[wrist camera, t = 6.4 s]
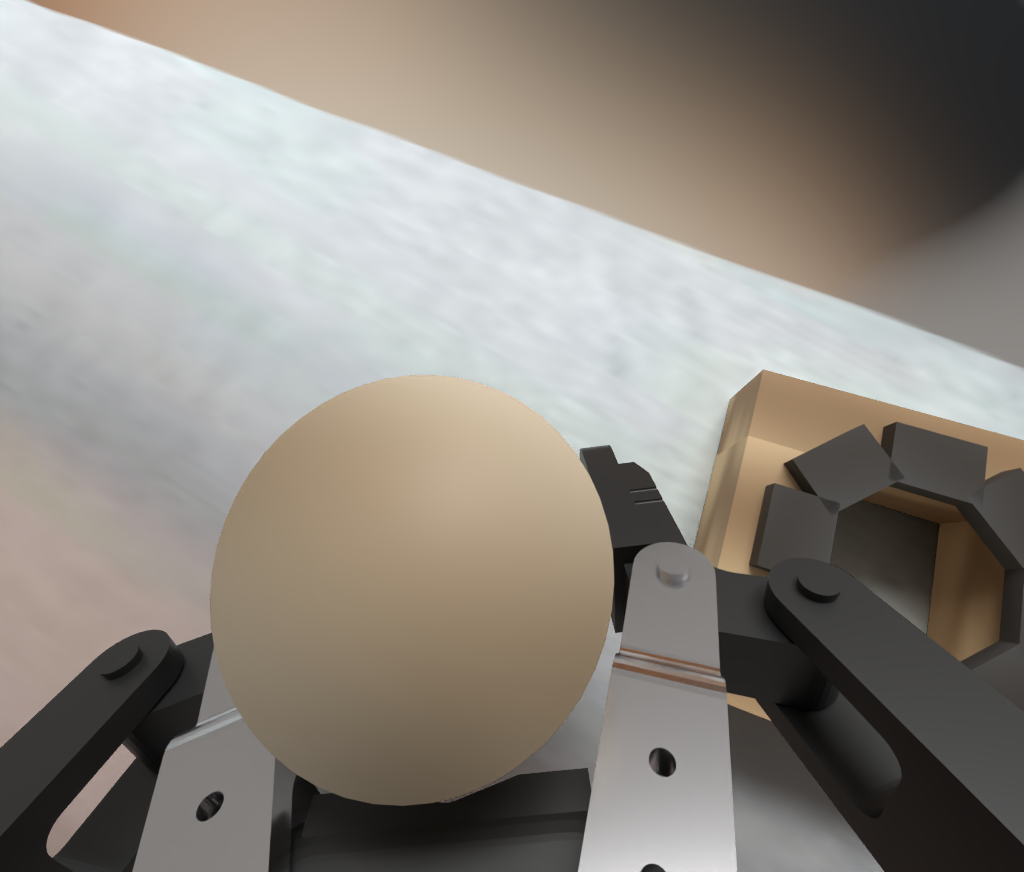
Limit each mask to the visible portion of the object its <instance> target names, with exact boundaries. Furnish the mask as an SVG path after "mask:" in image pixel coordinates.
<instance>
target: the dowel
mask: <svg viewBox="0 0 1024 872" xmlns="http://www.w3.org/2000/svg"><path fill="white" fill-rule="evenodd" d="M613 590H614V564H613V550H612V544H611V538H610V532H609V526H608V523H607V519H606V516H605V513H604V510H603V506H602V503H601V500H600V497H599V495H598V493H597V491H596V489H595V486H594V484H593V482H592V480H591V478H590V475H589V474H588V472H587V470H586V469H585V467H584V466H583V464H582V462H581V461H580V459H579V458H578V456H577V454H576V453H575V452H574V450H573V449H572V448H571V447H570V445H569V444H568V443H567V442H566V441H565V439H564V438H563V437H562V436H561V434H560V433H559V432H558V431H556V430H555V429H554V428H553V427H552V426H551V425H550V424H549V423H548V422H547V421H546V420H545V419H544V418H543V417H541V416H540V415H539V414H537V413H536V412H535V411H533V410H532V409H530V408H529V407H528V406H526V405H525V404H523V403H522V402H520V401H518V400H516V399H514V398H513V397H511V396H509V395H507V394H505V393H503V392H501V391H499V390H496V389H494V388H491V387H488V386H486V385H483V384H480V383H477V382H473V381H469V380H464V379H460V378H455V377H446V376H437V375H410V376H403V377H396V378H388V379H384V380H380V381H376V382H372V383H369V384H365V385H362V386H360V387H357V388H354V389H352V390H349V391H347V392H344V393H342V394H340V395H338V396H336V397H334V398H332V399H330V400H329V401H327V402H325V403H323V404H321V405H320V406H318V407H317V408H315V409H314V410H312V411H311V412H309V413H308V414H306V415H305V416H303V417H302V418H301V419H299V420H298V421H297V422H296V423H295V424H294V425H292V426H291V427H290V428H289V429H288V430H287V431H285V432H284V433H283V434H282V435H281V436H280V437H279V438H278V439H277V440H276V441H275V442H274V444H273V445H272V446H271V447H270V448H269V449H268V450H267V451H266V452H265V453H264V455H263V456H262V457H261V459H260V460H259V461H258V463H257V464H256V465H255V467H254V468H253V469H252V471H251V472H250V473H249V475H248V477H247V478H246V480H245V482H244V484H243V485H242V487H241V489H240V490H239V492H238V494H237V496H236V498H235V500H234V502H233V504H232V507H231V509H230V511H229V513H228V516H227V518H226V520H225V523H224V526H223V529H222V532H221V536H220V539H219V542H218V545H217V549H216V555H215V560H214V565H213V570H212V579H211V592H210V614H211V630H212V636H213V642H214V648H215V654H216V658H217V661H218V664H219V667H220V671H221V674H222V677H223V680H224V683H225V685H226V688H227V690H228V692H229V694H230V696H231V698H232V700H233V703H234V705H235V707H236V709H237V710H238V712H239V713H240V715H241V717H242V718H243V720H244V721H245V723H246V724H247V726H248V727H249V729H250V730H251V732H252V733H253V734H254V735H255V736H256V738H257V739H258V740H259V741H260V742H261V743H262V744H263V746H264V747H265V748H266V749H267V750H268V751H269V752H270V753H271V754H272V755H273V756H274V757H275V758H277V759H278V760H279V761H280V762H281V763H283V764H284V765H285V766H286V767H287V768H288V769H290V770H291V771H292V772H294V773H295V774H297V775H299V776H300V777H302V778H304V779H305V780H307V781H309V782H310V783H312V784H314V785H315V786H317V787H319V788H322V789H324V790H327V791H329V792H332V793H334V794H337V795H339V796H342V797H344V798H348V799H353V800H357V801H362V802H366V803H371V804H381V805H397V806H406V805H417V804H427V803H435V802H438V801H442V800H446V799H450V798H454V797H458V796H462V795H464V794H467V793H469V792H471V791H474V790H476V789H478V788H481V787H483V786H485V785H488V784H490V783H492V782H494V781H495V780H497V779H499V778H500V777H502V776H503V775H505V774H507V773H508V772H510V771H511V770H513V769H515V768H516V767H518V766H519V765H520V764H522V763H523V762H524V761H525V760H526V759H528V758H529V757H530V756H531V755H532V754H534V753H535V752H536V751H537V750H538V749H540V748H541V747H542V746H543V745H544V744H545V743H546V742H547V740H548V739H549V738H550V737H551V736H552V735H553V734H554V733H555V732H556V731H557V729H558V728H559V727H560V726H561V725H562V724H563V723H564V721H565V720H566V718H567V717H568V715H569V714H570V713H571V711H572V710H573V708H574V707H575V705H576V704H577V702H578V701H579V699H580V698H581V696H582V694H583V692H584V690H585V688H586V686H587V685H588V683H589V681H590V679H591V677H592V675H593V673H594V671H595V669H596V666H597V663H598V660H599V657H600V654H601V652H602V649H603V646H604V643H605V640H606V635H607V631H608V626H609V621H610V617H611V612H612V602H613Z"/></svg>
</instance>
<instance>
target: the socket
mask: <svg viewBox="0 0 1024 872" xmlns="http://www.w3.org/2000/svg"><path fill="white" fill-rule="evenodd" d="M860 500H863V501H867V502H870V503H873V504H876V505H880V506H883V507H886V508H889V509H893V510H896V511H899V512H902V513H906V514H909V515H912V516H915V517H919V518H922V519H925V520H929V521H932V522H935V523H938V524H940V527H939V535H938V544H937V552H936V561H935V570H934V578H933V587H932V595H931V604H930V612H929V621H928V629H927V636H928V637H930V638H931V639H932V640H934V641H935V642H936V643H937V644H939V645H940V646H941V647H942V648H944V649H945V650H946V651H947V652H949V653H950V654H951V655H952V656H954V657H955V658H956V659H958V660H959V661H960V662H961V663H963V664H964V665H965V666H966V667H968V668H969V669H970V670H971V671H973V672H974V673H975V674H976V675H978V676H979V677H980V678H982V679H983V680H984V681H985V682H987V683H988V684H989V685H990V686H992V687H993V688H994V689H995V690H997V691H998V692H999V693H1000V694H1002V695H1003V696H1004V697H1005V698H1007V699H1008V700H1009V701H1011V702H1012V703H1013V704H1014V705H1016V706H1017V707H1018V708H1019V709H1021V710H1022V711H1023V712H1024V440H1020V439H1017V438H1013V437H1009V436H1006V435H1002V434H998V433H995V432H991V431H987V430H984V429H980V428H976V427H973V426H969V425H965V424H962V423H958V422H954V421H950V420H947V419H943V418H939V417H936V416H932V415H928V414H925V413H921V412H917V411H914V410H910V409H906V408H903V407H899V406H895V405H892V404H888V403H884V402H881V401H877V400H873V399H870V398H866V397H862V396H859V395H855V394H851V393H848V392H844V391H840V390H837V389H833V388H829V387H826V386H822V385H818V384H815V383H811V382H807V381H804V380H800V379H796V378H793V377H789V376H785V375H782V374H778V373H774V372H770V371H767V370H762V371H761V372H760V373H759V374H758V375H757V376H756V377H755V378H753V379H752V380H751V381H750V382H749V383H748V384H747V385H746V386H744V387H743V388H742V389H741V390H740V391H739V392H738V393H737V394H735V395H734V396H733V397H732V398H731V399H730V403H729V407H728V411H727V415H726V419H725V423H724V427H723V431H722V436H721V440H720V444H719V448H718V452H717V456H716V460H715V464H714V468H713V472H712V476H711V480H710V484H709V488H708V492H707V496H706V500H705V504H704V508H703V512H702V517H701V521H700V525H699V529H698V533H697V537H696V541H695V545H694V549H696V550H698V551H699V552H701V553H702V554H703V555H705V556H706V557H707V558H708V559H709V561H710V562H711V563H712V565H713V567H716V568H719V569H721V570H725V571H729V572H734V573H741V574H748V575H756V576H763V577H768V576H769V572H770V570H771V569H772V567H773V566H774V565H775V564H777V563H778V562H780V561H783V560H786V559H790V558H809V559H815V560H819V561H823V562H826V563H829V564H830V559H831V553H832V548H833V542H834V536H835V530H836V524H837V519H838V513H839V511H841V510H843V509H845V508H847V507H848V506H850V505H852V504H854V503H856V502H858V501H860ZM727 704H729V705H731V706H734V707H736V708H739V709H741V710H744V711H747V712H749V713H752V714H754V715H757V716H759V717H762V718H764V719H767V720H769V721H771V720H770V718H769V717H768V716H767V714H766V713H765V712H764V710H763V709H762V708H761V706H760V705H759V704H758V702H757V701H756V699H754V698H750V697H745V696H741V695H736V694H731V693H727Z"/></svg>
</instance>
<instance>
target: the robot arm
mask: <svg viewBox="0 0 1024 872" xmlns="http://www.w3.org/2000/svg"><path fill="white" fill-rule="evenodd" d="M580 461H581V462H582V464H583V466H584V467H585V469H586V470H587V472H588V474H589V475H590V478H591V480H592V482H593V484H594V486H595V489H596V491H597V493H598V495H599V497H600V500H601V503H602V506H603V510H604V513H605V516H606V519H607V523H608V526H609V532H610V538H611V544H612V550H613V564H614V590H613V602H612V612H611V618H612V622H613V625H614V629H615V633H618V632H622V639H621V645H620V650H619V654H618V653H616V654H615V657H614V661H613V665H612V671H611V677H610V683H609V689H608V695H607V701H606V707H605V713H604V719H603V725H602V731H601V737H600V743H599V749H598V755H597V761H596V767H595V773H594V779H593V785H592V790H591V786H590V780H589V773H588V768H582V769H572V770H562V771H552V772H542V773H531V774H521V775H517V776H515V777H512V778H510V779H507V780H505V781H503V782H500V783H498V784H495V785H493V786H490V787H488V788H486V789H483V790H481V791H478V792H476V793H473V794H471V795H469V796H466V797H464V798H461V799H459V800H456V801H454V802H450V803H439V802H435V803H427V804H417V805H406V806H397V805H381V804H371V803H366V802H362V801H357V800H353V799H348V798H344V797H342V796H339V795H337V794H334V793H332V792H329V791H327V790H324V789H322V788H319V787H317V786H315V785H314V784H312V783H310V782H309V781H307V780H305V779H304V778H302V777H300V776H299V775H297V774H295V773H294V772H292V771H291V770H290V769H288V768H287V767H286V766H285V765H284V764H283V763H281V762H280V761H279V760H278V759H277V758H275V757H274V756H273V755H272V754H271V753H270V752H269V751H268V750H267V749H266V748H265V747H264V746H263V744H262V743H261V742H260V741H259V740H258V739H257V738H256V736H255V735H254V734H253V733H252V732H251V730H250V729H249V727H248V726H247V724H246V723H245V721H244V720H243V718H242V717H241V715H240V713H239V712H238V710H237V709H236V707H235V705H234V703H233V700H232V698H231V696H230V694H229V692H228V690H227V688H226V685H225V683H224V680H223V677H222V674H221V671H220V667H219V664H218V661H217V658H216V654H215V648H214V642H213V636H212V633H210V634H207V635H204V636H202V637H199V638H196V639H193V640H191V641H188V642H185V643H182V644H180V645H177V646H176V645H175V643H174V642H173V641H172V639H171V638H170V637H169V635H168V634H167V633H166V632H164V631H161V630H148V631H144V632H140V633H137V634H134V635H132V636H130V637H128V638H125V639H123V640H122V641H120V642H118V643H116V644H115V645H113V646H112V647H110V648H109V649H107V650H106V651H105V652H103V653H102V654H101V655H99V656H98V657H97V658H96V659H95V660H94V661H93V662H92V663H91V664H89V665H88V666H87V667H86V668H85V669H84V670H83V671H82V672H81V673H80V674H79V675H78V676H77V677H76V678H75V679H74V680H72V681H71V682H70V683H69V684H68V685H67V686H66V687H65V688H64V689H63V690H62V691H61V692H60V693H59V694H58V695H56V696H55V697H54V698H53V699H52V700H51V701H50V702H49V703H48V704H47V705H46V706H45V707H44V708H43V709H42V710H41V711H39V712H38V713H37V714H36V715H35V716H34V717H33V718H32V719H31V720H30V721H29V722H28V723H27V724H26V725H25V726H23V727H22V728H21V729H20V730H19V731H18V732H17V733H16V734H15V735H14V736H13V737H12V738H11V739H10V740H9V741H8V742H6V743H5V744H4V745H3V746H2V747H1V748H0V872H737V865H736V847H735V829H734V812H733V794H732V777H731V759H730V741H729V724H728V706H727V693H731V694H736V695H741V696H745V697H750V698H754V699H756V701H757V702H758V704H759V705H760V706H761V708H762V709H763V710H764V712H765V713H766V714H767V716H768V717H769V718H770V720H771V721H772V722H773V724H774V725H775V726H776V728H777V729H778V730H779V732H780V733H781V734H782V736H783V737H784V738H785V740H786V741H787V742H788V744H789V745H790V746H791V748H792V749H793V750H794V752H795V753H796V754H797V756H798V757H799V758H800V760H801V761H802V762H803V764H804V765H805V766H806V768H807V769H808V770H809V772H810V773H811V774H812V776H813V777H814V778H815V780H816V781H817V782H818V784H819V785H820V786H821V788H822V789H823V790H824V792H825V793H826V794H827V796H828V797H829V798H830V800H831V801H832V802H833V804H834V805H835V806H836V808H837V809H838V810H839V812H840V813H841V814H842V816H843V817H844V818H845V820H846V821H847V822H848V824H849V825H850V826H851V828H852V829H853V830H854V832H855V833H856V834H857V836H858V837H859V838H860V840H861V841H862V842H863V844H864V845H865V846H866V848H867V849H868V850H869V852H870V853H871V854H872V856H873V857H874V858H875V860H876V861H877V862H878V864H879V865H880V866H881V868H882V869H883V870H884V872H1024V712H1023V711H1022V710H1021V709H1019V708H1018V707H1017V706H1016V705H1014V704H1013V703H1012V702H1011V701H1009V700H1008V699H1007V698H1005V697H1004V696H1003V695H1002V694H1000V693H999V692H998V691H997V690H995V689H994V688H993V687H992V686H990V685H989V684H988V683H987V682H985V681H984V680H983V679H982V678H980V677H979V676H978V675H976V674H975V673H974V672H973V671H971V670H970V669H969V668H968V667H966V666H965V665H964V664H963V663H961V662H960V661H959V660H958V659H956V658H955V657H954V656H952V655H951V654H950V653H949V652H947V651H946V650H945V649H944V648H942V647H941V646H940V645H939V644H937V643H936V642H935V641H934V640H932V639H931V638H930V637H928V636H927V635H926V634H925V633H923V632H922V631H921V630H920V629H918V628H917V627H916V626H915V625H913V624H912V623H911V622H910V621H908V620H907V619H906V618H904V617H903V616H902V615H901V614H899V613H898V612H897V611H896V610H894V609H893V608H892V607H891V606H889V605H888V604H887V603H886V602H884V601H883V600H882V599H880V598H879V597H878V596H877V595H875V594H874V593H873V592H872V591H870V590H869V589H868V588H867V587H865V586H864V585H863V584H862V583H860V582H859V581H858V580H856V579H855V578H854V577H853V576H851V575H850V574H848V573H847V572H845V571H844V570H842V569H840V568H838V567H836V566H834V565H832V564H829V563H826V562H823V561H819V560H815V559H809V558H790V559H786V560H783V561H780V562H778V563H777V564H775V565H774V566H773V567H772V569H771V570H770V572H769V576H768V577H763V576H756V575H748V574H741V573H734V572H729V571H725V570H721V569H719V568H716V567H713V565H712V563H711V562H710V561H709V559H708V558H707V557H706V556H705V555H703V554H702V553H701V552H699V551H698V550H696V549H694V548H692V547H690V546H688V545H687V544H686V542H685V540H684V538H683V536H682V534H681V532H680V531H679V529H678V527H677V525H676V523H675V521H674V519H673V517H672V515H671V514H670V512H669V510H668V508H667V506H666V504H665V502H664V501H663V500H662V497H661V495H660V493H659V491H658V489H656V485H655V483H654V481H653V480H652V478H651V476H650V474H649V473H648V472H647V471H646V470H644V469H643V468H642V467H640V466H639V465H637V464H636V463H635V462H630V463H622V464H618V462H617V460H616V458H615V455H614V453H613V451H612V448H611V446H610V445H606V446H598V447H590V448H582V449H580ZM121 744H123V745H124V746H125V747H126V748H127V749H128V750H129V751H130V752H131V753H132V754H133V755H134V756H135V757H136V759H135V760H134V761H133V763H132V764H131V765H130V766H129V767H128V769H127V770H126V771H125V772H124V774H123V775H122V776H121V777H120V778H119V780H118V781H117V782H116V783H115V785H114V786H113V787H112V788H111V790H110V791H109V792H108V793H107V794H106V796H105V797H104V798H103V799H102V801H101V802H100V803H99V804H98V805H97V807H96V808H95V809H94V810H93V812H92V813H91V814H90V815H89V817H88V818H87V819H86V820H85V821H84V823H83V824H82V825H81V826H80V828H79V829H78V830H77V831H76V832H75V834H74V835H73V836H72V837H71V839H70V840H69V841H68V842H67V844H66V845H65V846H64V847H63V848H62V849H61V850H60V851H59V852H58V853H57V854H56V855H55V856H54V857H53V858H51V857H50V856H49V855H48V853H47V850H46V843H47V838H48V835H49V833H50V830H51V828H52V827H53V825H54V823H55V822H56V820H57V819H58V817H59V816H60V815H61V813H62V812H63V811H64V810H65V809H66V808H67V806H68V805H69V804H70V803H71V802H72V801H73V799H74V798H75V797H76V796H77V795H78V794H79V792H80V791H81V790H82V789H83V788H84V787H85V786H86V784H87V783H88V782H89V781H90V780H91V779H92V777H93V776H94V775H95V774H96V773H97V772H98V770H99V769H100V768H101V767H102V766H103V765H104V763H105V762H106V761H107V760H108V759H109V758H110V757H111V755H112V754H113V753H114V752H115V751H116V750H117V748H118V747H119V746H120V745H121Z"/></svg>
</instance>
